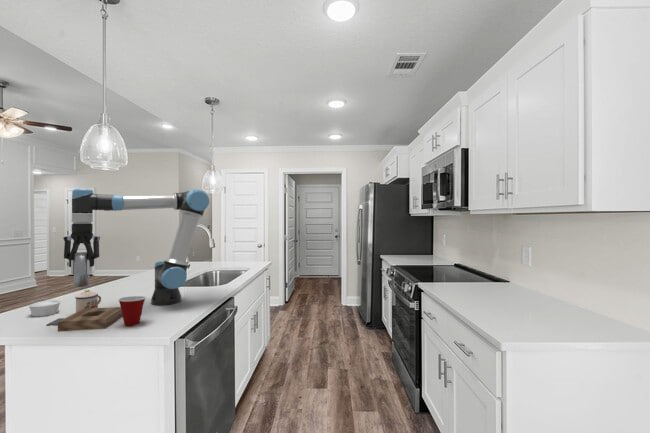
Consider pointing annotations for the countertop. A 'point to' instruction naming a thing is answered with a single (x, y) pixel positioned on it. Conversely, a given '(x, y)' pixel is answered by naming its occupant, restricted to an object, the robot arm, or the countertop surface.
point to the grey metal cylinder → (81, 269)
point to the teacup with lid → (87, 300)
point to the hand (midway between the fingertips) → (81, 273)
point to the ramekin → (44, 308)
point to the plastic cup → (131, 309)
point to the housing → (90, 319)
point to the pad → (54, 322)
